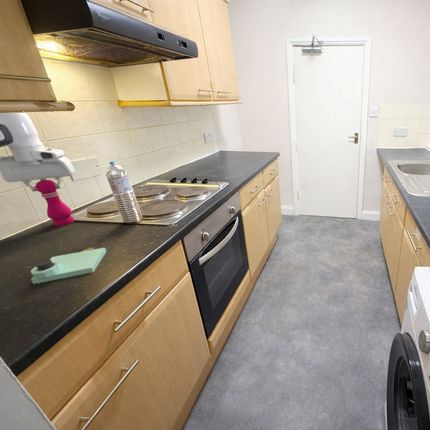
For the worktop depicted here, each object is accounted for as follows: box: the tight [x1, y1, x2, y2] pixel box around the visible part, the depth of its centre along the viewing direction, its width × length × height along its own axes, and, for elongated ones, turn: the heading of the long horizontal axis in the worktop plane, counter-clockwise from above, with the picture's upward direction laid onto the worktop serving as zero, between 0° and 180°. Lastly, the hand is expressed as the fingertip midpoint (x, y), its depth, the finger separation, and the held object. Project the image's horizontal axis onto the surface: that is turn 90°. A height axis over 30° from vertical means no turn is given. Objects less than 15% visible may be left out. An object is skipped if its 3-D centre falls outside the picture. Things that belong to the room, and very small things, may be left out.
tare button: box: [35, 259, 54, 271], centre depth 76 cm, size 3×3×2 cm
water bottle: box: [104, 160, 144, 225], centre depth 105 cm, size 7×7×25 cm
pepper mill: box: [34, 179, 75, 227], centre depth 106 cm, size 7×7×20 cm
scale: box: [30, 247, 108, 285], centre depth 81 cm, size 14×13×4 cm
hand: (48, 189), depth 104 cm, fingers closed on pepper mill, 6 cm apart
